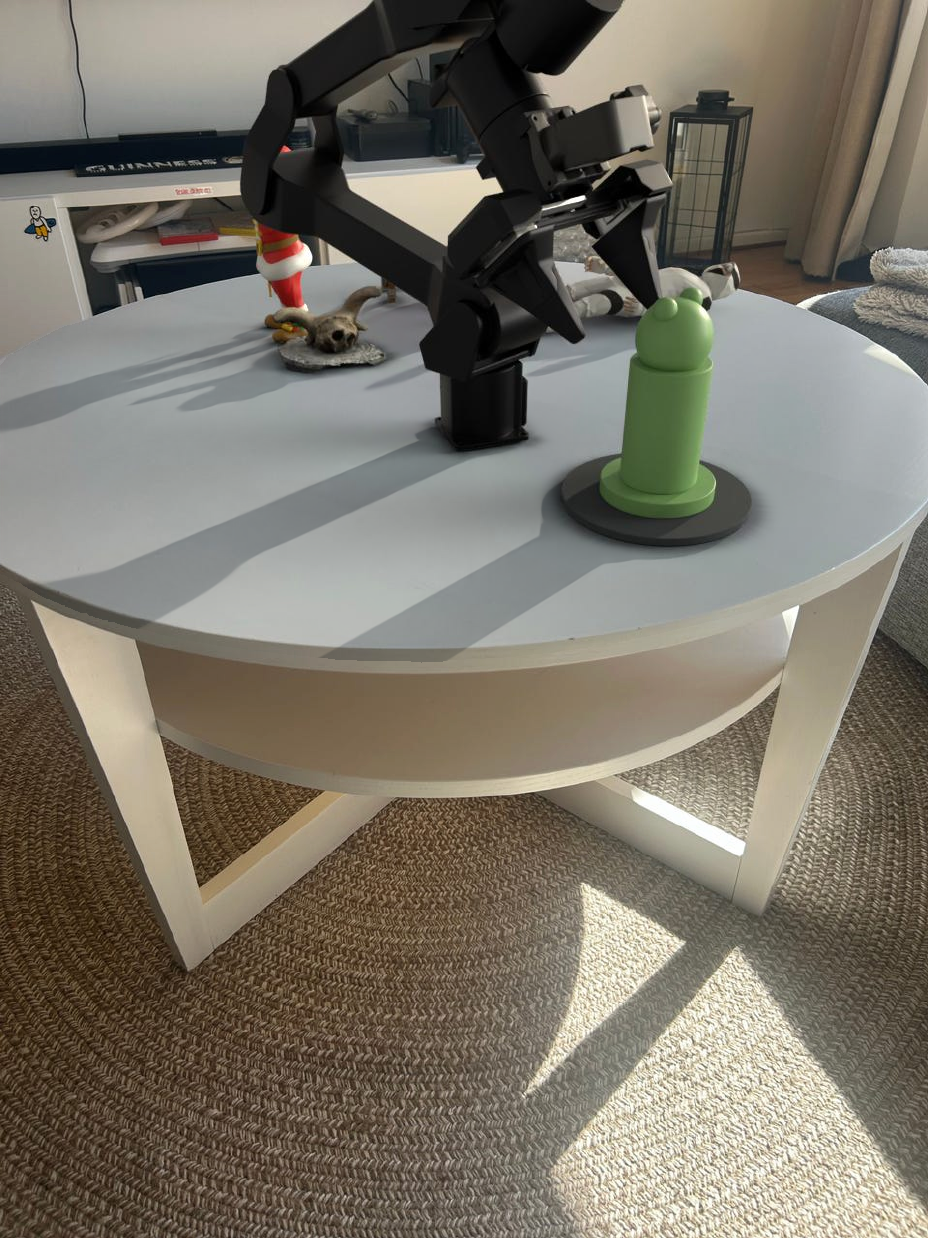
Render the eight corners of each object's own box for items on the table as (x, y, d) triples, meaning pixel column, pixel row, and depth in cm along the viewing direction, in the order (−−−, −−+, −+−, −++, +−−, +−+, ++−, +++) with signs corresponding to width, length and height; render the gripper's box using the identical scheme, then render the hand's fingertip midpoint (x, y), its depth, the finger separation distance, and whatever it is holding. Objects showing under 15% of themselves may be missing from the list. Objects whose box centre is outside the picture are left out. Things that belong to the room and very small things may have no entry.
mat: (612, 561, 63) (613, 553, 63) (532, 474, 74) (532, 467, 74) (790, 525, 67) (791, 518, 66) (688, 448, 78) (689, 441, 77)
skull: (276, 351, 101) (262, 297, 97) (378, 326, 103) (368, 272, 99) (293, 388, 93) (278, 331, 89) (403, 359, 95) (394, 302, 91)
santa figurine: (249, 303, 113) (224, 129, 102) (297, 298, 114) (278, 126, 103) (287, 373, 93) (261, 167, 82) (344, 366, 95) (326, 162, 84)
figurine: (470, 261, 104) (715, 228, 110) (471, 315, 108) (707, 281, 114) (507, 308, 95) (774, 269, 100) (507, 366, 99) (763, 325, 105)
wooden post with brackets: (385, 300, 109) (382, 260, 109) (383, 310, 117) (380, 272, 116) (400, 300, 110) (398, 259, 109) (397, 309, 117) (395, 271, 117)
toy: (576, 493, 70) (589, 293, 62) (642, 457, 75) (662, 268, 66) (672, 531, 65) (699, 320, 57) (735, 490, 70) (769, 290, 62)
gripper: (489, 46, 53) (618, 294, 54) (674, 29, 64) (779, 235, 65) (394, 169, 62) (506, 380, 63) (570, 136, 73) (664, 316, 74)
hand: (620, 324), depth 66 cm, fingers open, 9 cm apart
